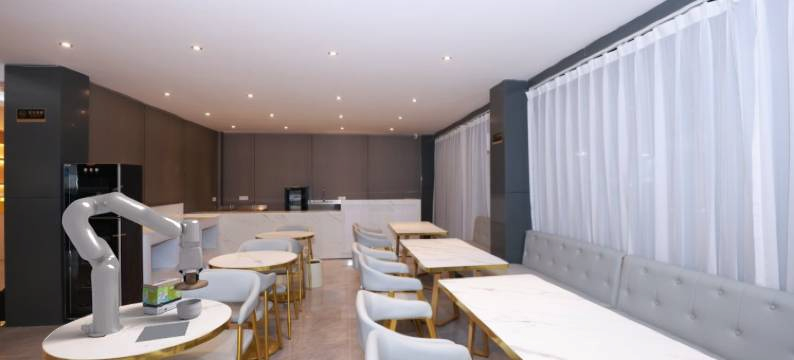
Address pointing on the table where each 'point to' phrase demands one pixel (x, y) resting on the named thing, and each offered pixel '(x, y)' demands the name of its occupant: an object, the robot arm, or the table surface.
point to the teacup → (189, 308)
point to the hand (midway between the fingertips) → (191, 282)
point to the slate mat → (163, 331)
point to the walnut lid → (190, 283)
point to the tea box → (161, 296)
